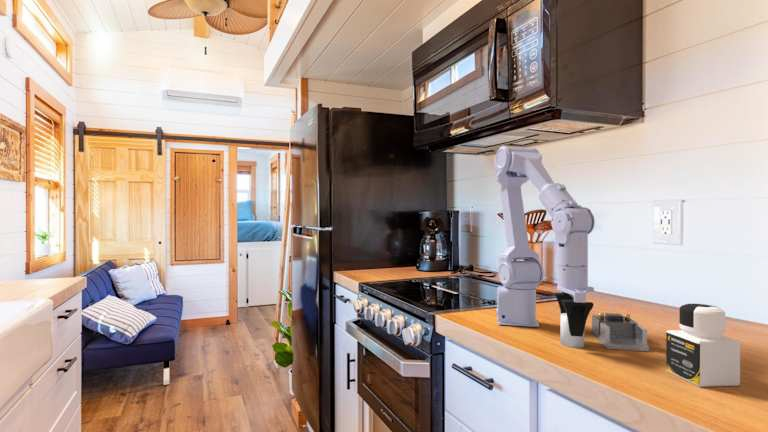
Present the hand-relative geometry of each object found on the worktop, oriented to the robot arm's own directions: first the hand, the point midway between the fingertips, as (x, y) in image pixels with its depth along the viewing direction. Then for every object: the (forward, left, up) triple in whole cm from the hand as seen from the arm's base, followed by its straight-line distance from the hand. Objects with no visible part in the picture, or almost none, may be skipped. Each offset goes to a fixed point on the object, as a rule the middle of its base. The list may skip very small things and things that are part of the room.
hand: (572, 330), depth 89 cm
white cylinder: (0, 0, -3) cm, 3 cm away
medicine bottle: (+17, -15, -3) cm, 23 cm away
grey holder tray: (+10, +5, -3) cm, 11 cm away
